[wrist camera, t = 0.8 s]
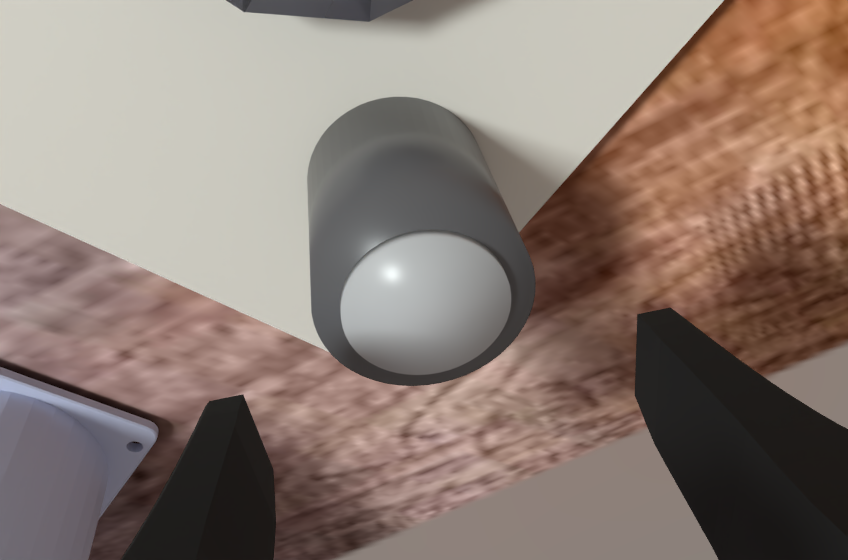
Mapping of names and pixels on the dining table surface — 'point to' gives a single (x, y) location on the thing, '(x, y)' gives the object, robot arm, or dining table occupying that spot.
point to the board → (291, 117)
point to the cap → (411, 246)
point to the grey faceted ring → (322, 8)
